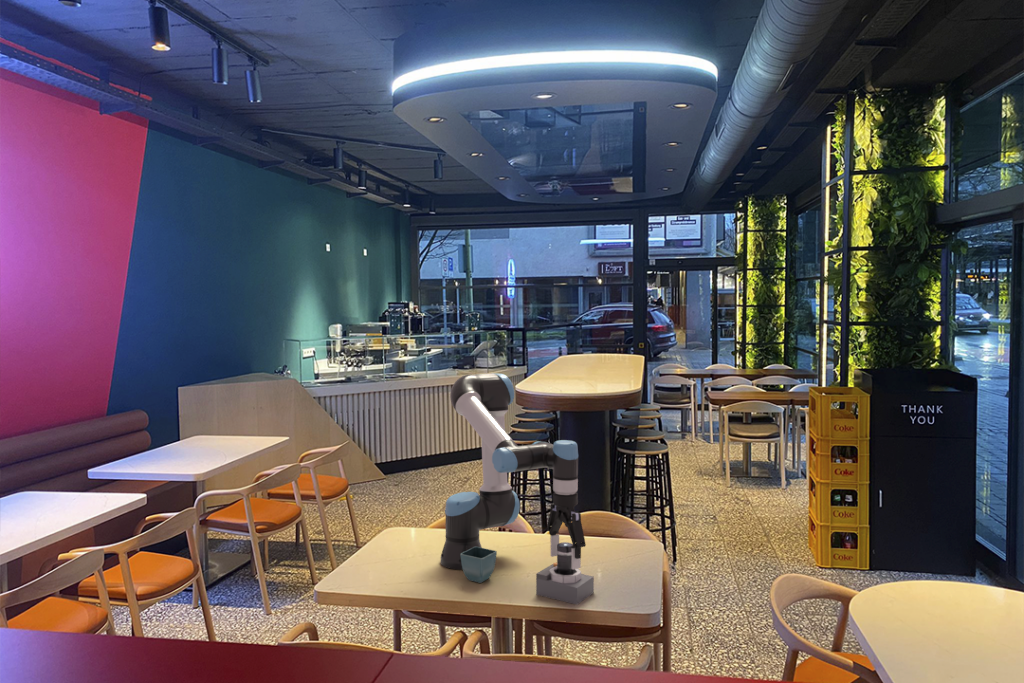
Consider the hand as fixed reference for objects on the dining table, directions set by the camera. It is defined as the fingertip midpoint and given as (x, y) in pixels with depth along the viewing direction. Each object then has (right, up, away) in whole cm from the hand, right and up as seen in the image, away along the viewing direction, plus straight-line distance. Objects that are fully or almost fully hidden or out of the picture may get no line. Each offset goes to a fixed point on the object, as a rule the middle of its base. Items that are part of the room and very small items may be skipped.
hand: (565, 562), depth 218 cm
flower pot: (-27, -10, +12) cm, 31 cm away
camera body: (0, -10, 0) cm, 10 cm away
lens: (0, -5, 0) cm, 5 cm away
